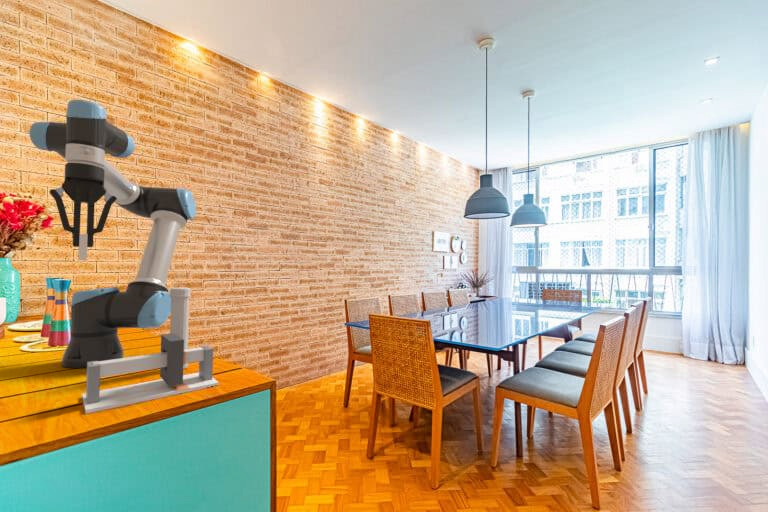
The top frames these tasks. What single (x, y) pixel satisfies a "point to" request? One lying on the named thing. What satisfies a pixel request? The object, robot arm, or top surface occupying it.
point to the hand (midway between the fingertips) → (82, 260)
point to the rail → (147, 390)
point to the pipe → (180, 313)
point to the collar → (172, 359)
